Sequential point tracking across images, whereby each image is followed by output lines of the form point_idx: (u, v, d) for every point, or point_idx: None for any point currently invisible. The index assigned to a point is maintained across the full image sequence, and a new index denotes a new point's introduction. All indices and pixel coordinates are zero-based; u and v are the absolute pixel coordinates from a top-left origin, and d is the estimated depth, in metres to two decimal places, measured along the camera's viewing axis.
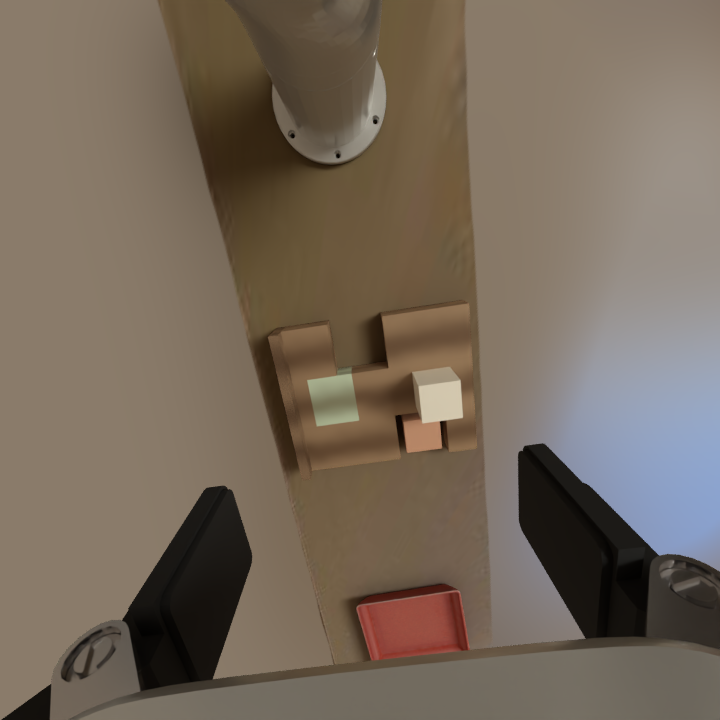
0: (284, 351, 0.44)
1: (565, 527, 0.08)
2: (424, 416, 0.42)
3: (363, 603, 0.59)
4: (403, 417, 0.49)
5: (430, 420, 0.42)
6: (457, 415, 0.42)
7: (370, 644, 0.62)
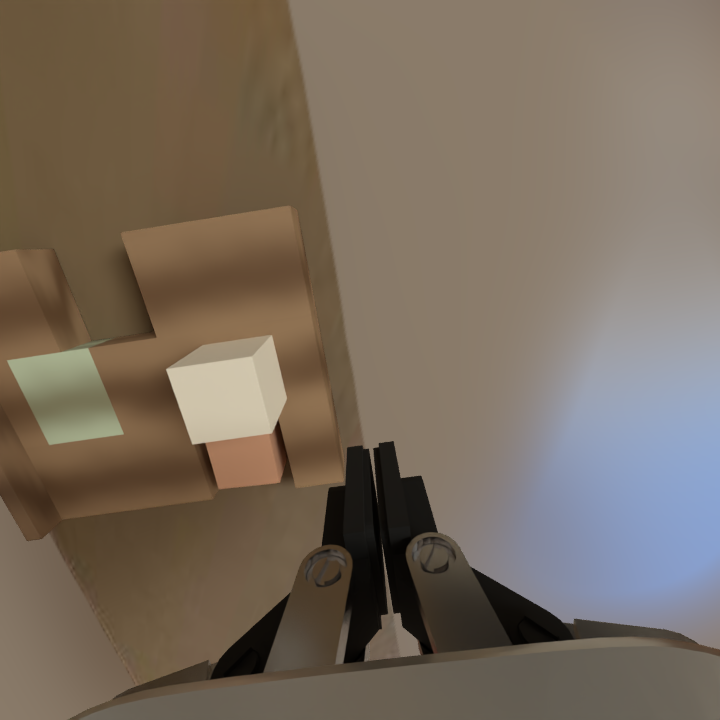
0: None
1: None
2: (193, 430, 0.21)
3: None
4: None
5: (207, 438, 0.21)
6: (260, 427, 0.21)
7: None
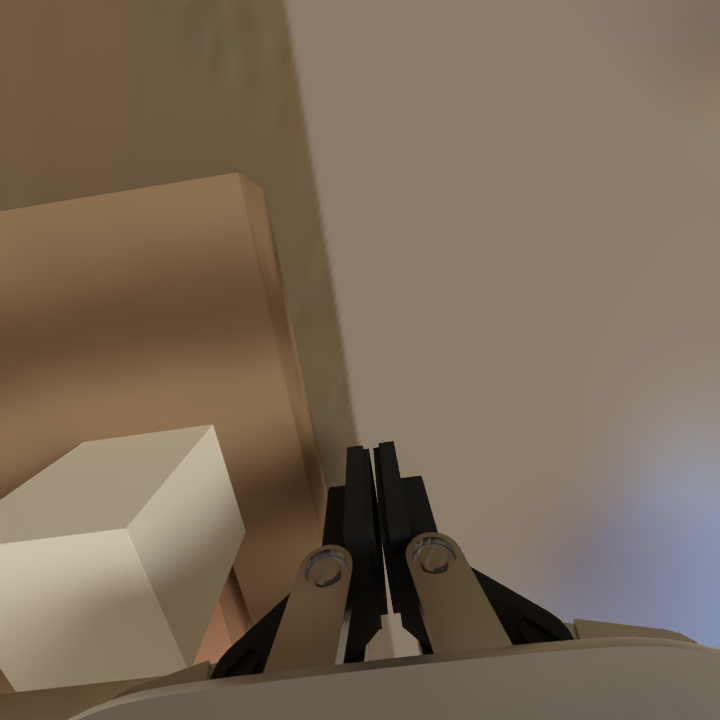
0: None
1: None
2: (13, 668, 0.09)
3: None
4: None
5: (47, 681, 0.09)
6: (161, 663, 0.09)
7: None
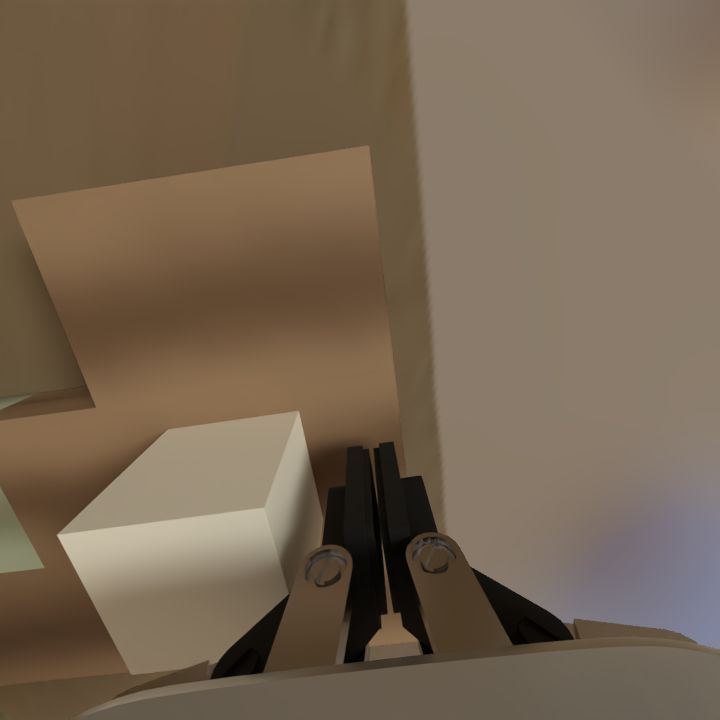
0: None
1: None
2: (131, 650, 0.09)
3: None
4: None
5: (163, 664, 0.10)
6: None
7: None
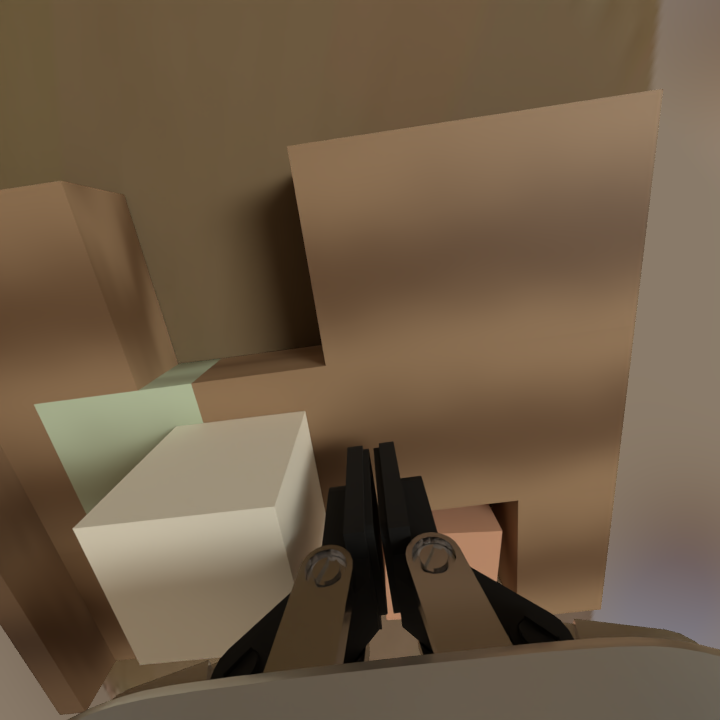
0: None
1: None
2: (141, 641, 0.10)
3: None
4: None
5: (171, 655, 0.10)
6: None
7: None
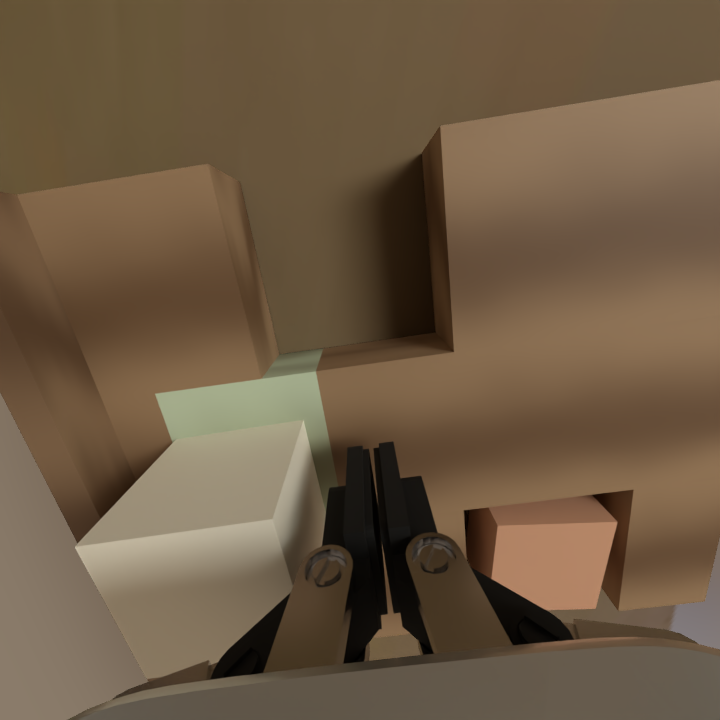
0: (39, 279, 0.11)
1: None
2: (146, 656, 0.10)
3: None
4: None
5: (177, 668, 0.10)
6: None
7: None
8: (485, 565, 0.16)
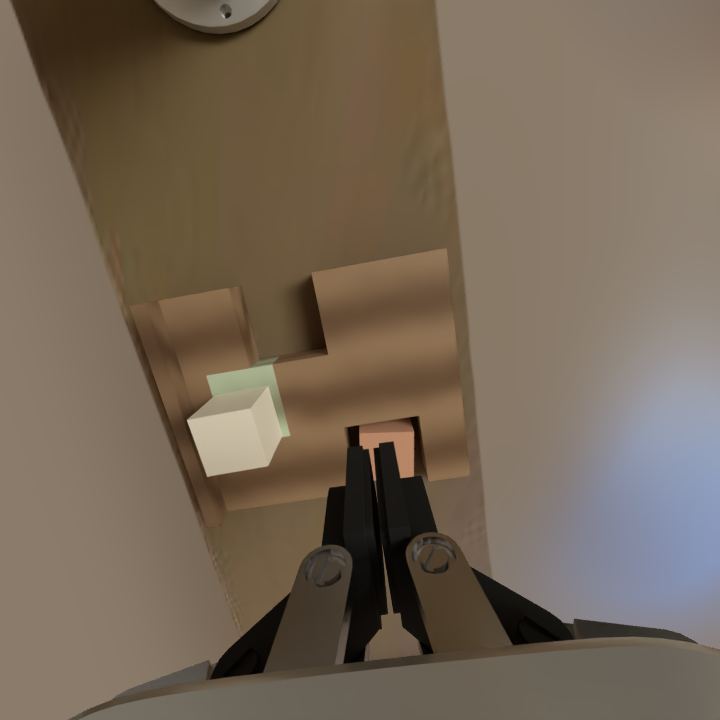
0: (165, 331, 0.29)
1: None
2: (207, 466, 0.27)
3: None
4: (361, 427, 0.32)
5: (218, 471, 0.27)
6: (258, 462, 0.27)
7: None
8: None
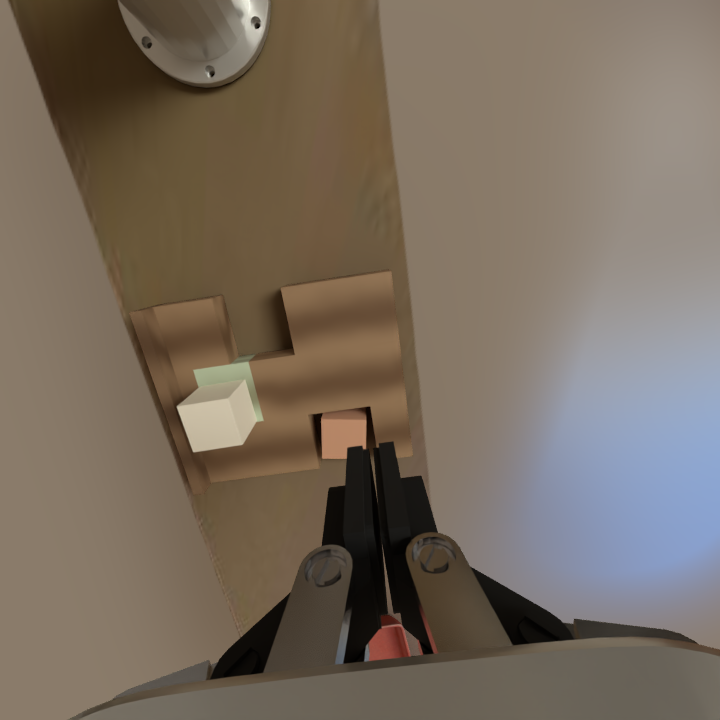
0: (158, 332, 0.35)
1: None
2: (193, 443, 0.33)
3: None
4: (323, 414, 0.39)
5: (202, 448, 0.33)
6: (235, 441, 0.33)
7: None
8: None
